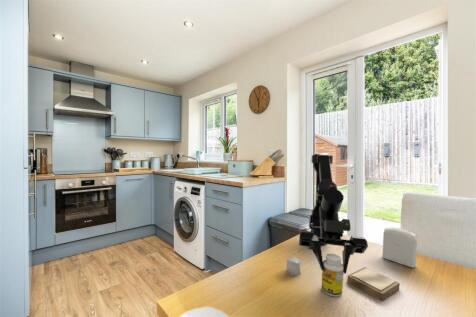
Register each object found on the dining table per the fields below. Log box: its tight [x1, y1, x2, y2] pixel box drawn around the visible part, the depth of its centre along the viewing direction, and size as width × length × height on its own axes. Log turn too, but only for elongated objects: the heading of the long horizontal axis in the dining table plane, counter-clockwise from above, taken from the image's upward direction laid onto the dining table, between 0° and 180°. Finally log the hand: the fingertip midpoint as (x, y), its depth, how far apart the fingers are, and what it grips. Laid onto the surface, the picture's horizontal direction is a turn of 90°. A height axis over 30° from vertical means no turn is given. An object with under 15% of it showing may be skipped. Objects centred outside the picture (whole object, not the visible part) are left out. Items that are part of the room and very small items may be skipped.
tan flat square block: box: [346, 266, 400, 302], centre depth 67 cm, size 10×10×2 cm
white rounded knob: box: [286, 257, 302, 277], centre depth 73 cm, size 4×4×4 cm
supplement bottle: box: [321, 253, 344, 298], centre depth 63 cm, size 6×6×10 cm
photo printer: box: [382, 226, 418, 269], centre depth 82 cm, size 10×4×12 cm, turn 39°
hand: (333, 271), depth 62 cm, fingers closed on supplement bottle, 6 cm apart
